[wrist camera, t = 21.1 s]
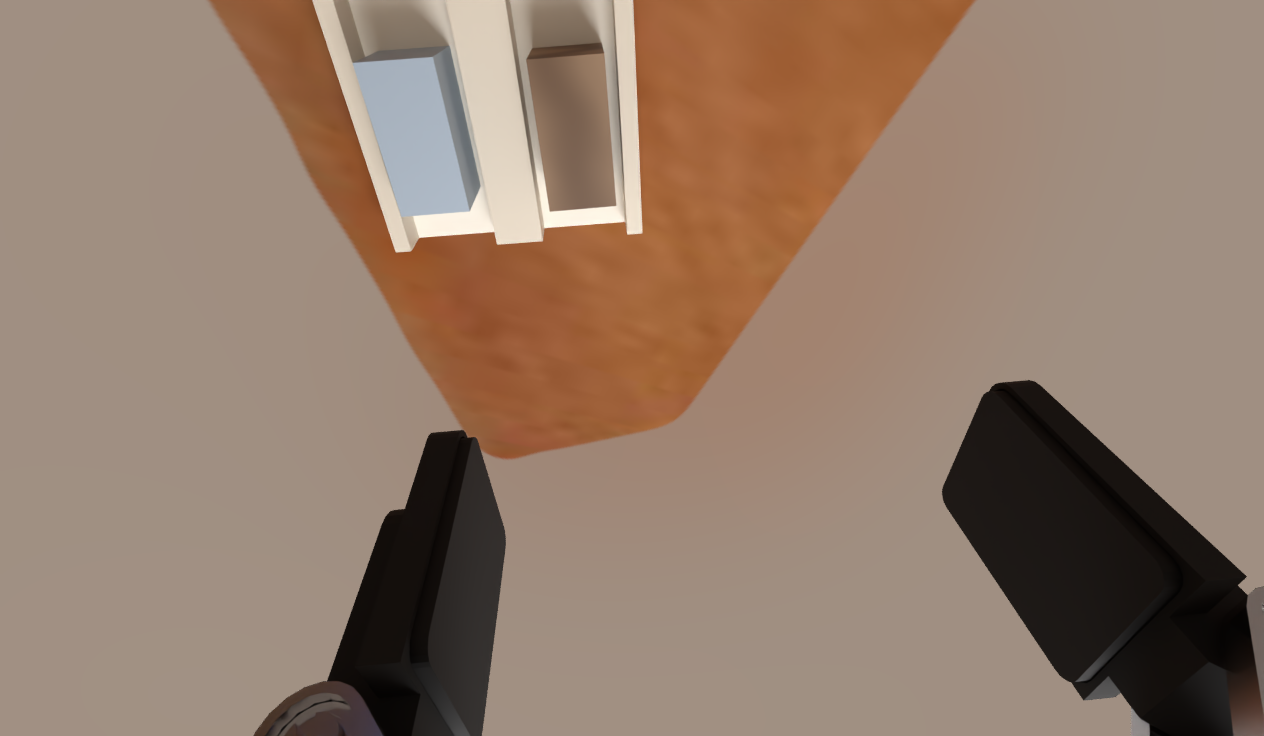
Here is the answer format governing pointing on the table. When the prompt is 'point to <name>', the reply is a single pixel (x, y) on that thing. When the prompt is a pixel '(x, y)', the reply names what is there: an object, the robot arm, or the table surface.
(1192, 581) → the robot arm
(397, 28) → the slot board
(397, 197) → the slate bar
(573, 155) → the walnut bar
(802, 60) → the table surface
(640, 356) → the table surface
